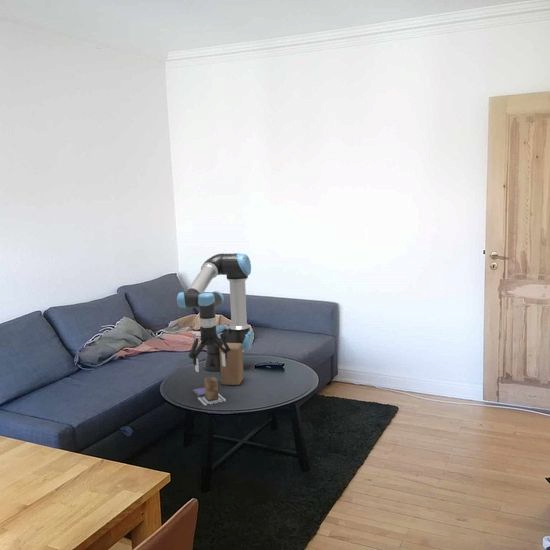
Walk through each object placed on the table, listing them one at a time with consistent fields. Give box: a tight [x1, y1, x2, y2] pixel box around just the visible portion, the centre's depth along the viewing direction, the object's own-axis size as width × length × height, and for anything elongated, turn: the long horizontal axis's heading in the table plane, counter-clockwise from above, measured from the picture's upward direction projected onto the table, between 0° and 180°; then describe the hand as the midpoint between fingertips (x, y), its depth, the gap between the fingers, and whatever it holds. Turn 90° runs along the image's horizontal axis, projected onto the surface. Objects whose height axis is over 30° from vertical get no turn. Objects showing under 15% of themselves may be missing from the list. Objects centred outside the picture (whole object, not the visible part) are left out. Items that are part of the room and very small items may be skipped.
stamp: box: [203, 376, 219, 402], centre depth 278 cm, size 5×5×10 cm
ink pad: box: [192, 387, 205, 398], centre depth 288 cm, size 9×9×1 cm
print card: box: [197, 393, 227, 406], centre depth 279 cm, size 11×10×1 cm
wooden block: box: [220, 343, 245, 386], centre depth 300 cm, size 10×10×20 cm
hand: (210, 368), depth 277 cm, fingers open, 13 cm apart
